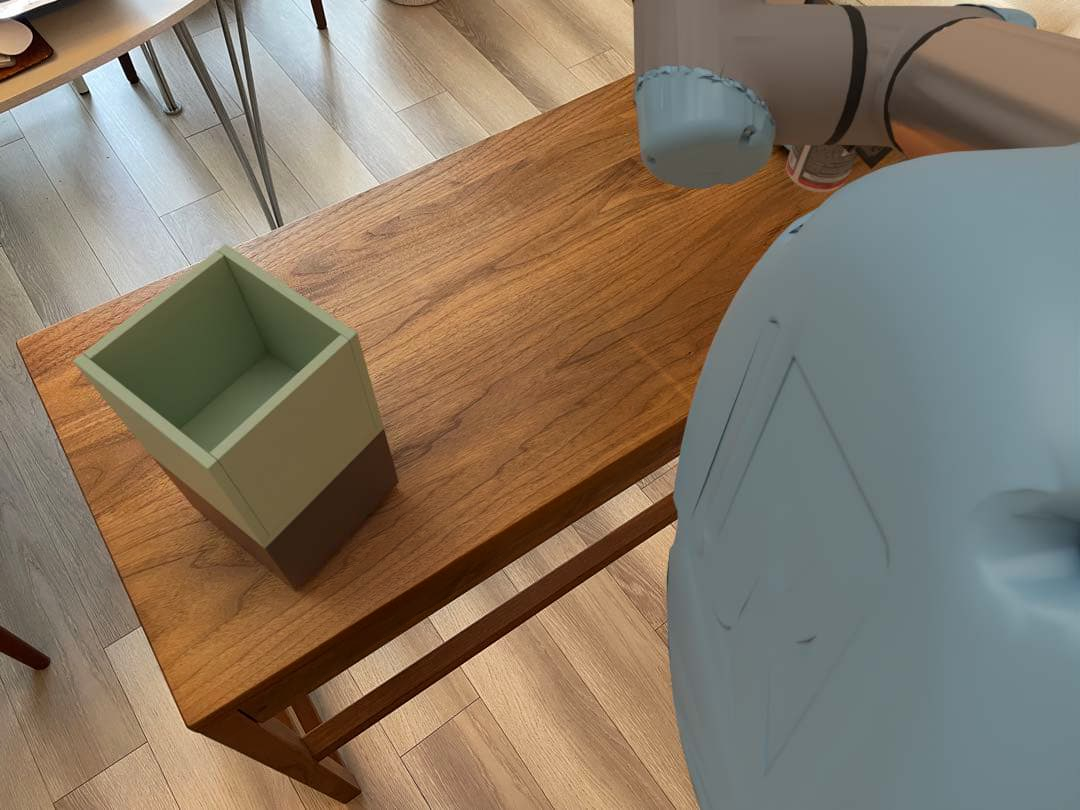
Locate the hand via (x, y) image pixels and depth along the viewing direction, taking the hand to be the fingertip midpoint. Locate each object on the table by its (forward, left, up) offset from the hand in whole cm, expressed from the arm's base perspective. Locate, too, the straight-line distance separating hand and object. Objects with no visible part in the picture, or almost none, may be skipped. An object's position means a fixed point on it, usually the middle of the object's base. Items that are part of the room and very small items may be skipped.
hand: (858, 133), depth 73 cm
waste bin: (-53, +24, -18) cm, 61 cm away
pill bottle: (-3, +2, -4) cm, 5 cm away
